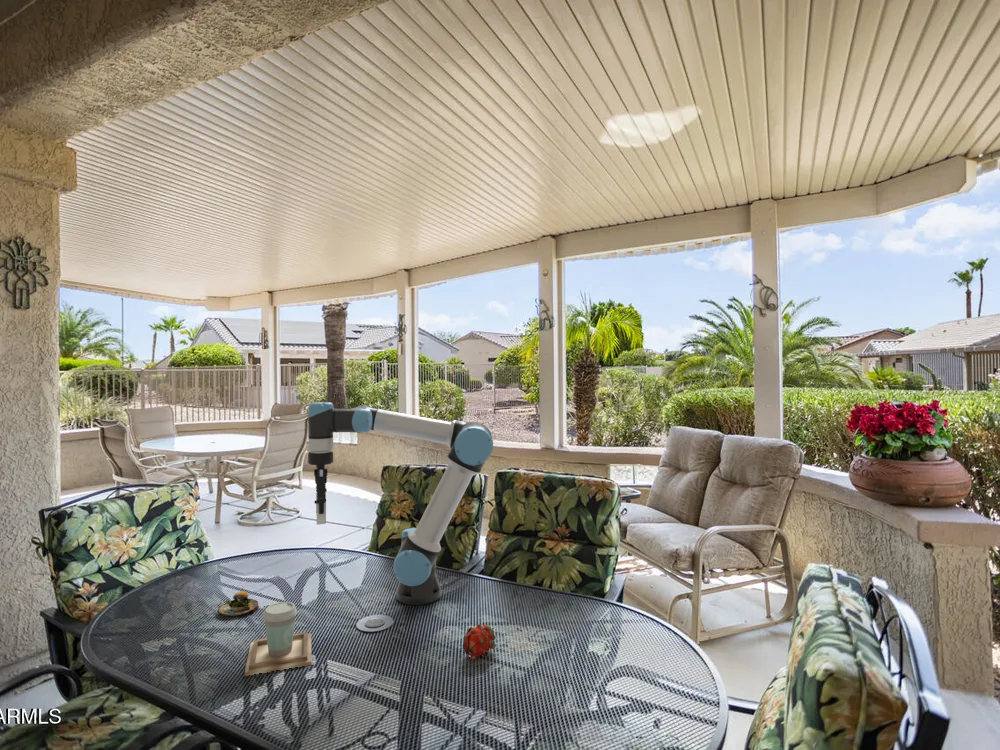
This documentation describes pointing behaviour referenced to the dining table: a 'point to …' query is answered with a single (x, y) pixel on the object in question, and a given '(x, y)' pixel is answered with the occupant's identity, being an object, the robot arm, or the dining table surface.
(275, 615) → the coffee cup
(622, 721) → the dining table surface
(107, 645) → the dining table surface
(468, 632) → the dragon fruit
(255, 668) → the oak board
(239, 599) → the burger
